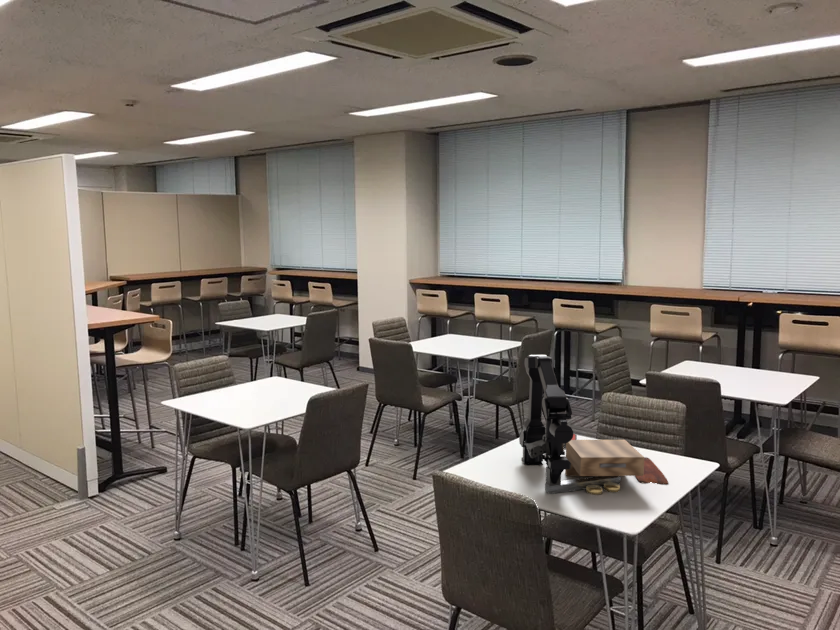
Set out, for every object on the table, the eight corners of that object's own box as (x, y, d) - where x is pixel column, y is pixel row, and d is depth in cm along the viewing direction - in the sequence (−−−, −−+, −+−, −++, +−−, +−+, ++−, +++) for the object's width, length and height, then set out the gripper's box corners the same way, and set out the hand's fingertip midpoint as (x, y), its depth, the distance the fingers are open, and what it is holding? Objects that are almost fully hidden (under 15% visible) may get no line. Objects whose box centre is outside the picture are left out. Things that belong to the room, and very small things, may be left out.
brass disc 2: (608, 493, 207) (608, 488, 207) (600, 487, 212) (601, 482, 212) (622, 492, 208) (622, 487, 208) (615, 486, 213) (615, 481, 213)
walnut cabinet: (580, 495, 205) (581, 458, 203) (565, 473, 224) (566, 439, 222) (643, 495, 206) (645, 458, 204) (623, 473, 224) (624, 439, 223)
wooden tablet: (670, 486, 214) (670, 481, 214) (638, 485, 216) (638, 480, 215) (651, 459, 241) (651, 454, 241) (623, 458, 242) (623, 453, 242)
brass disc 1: (589, 495, 205) (589, 491, 205) (583, 489, 210) (583, 485, 210) (604, 494, 206) (605, 490, 206) (598, 488, 211) (598, 484, 211)
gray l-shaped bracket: (549, 493, 206) (550, 469, 205) (545, 490, 209) (545, 466, 207) (620, 483, 214) (621, 460, 213) (614, 480, 217) (615, 457, 216)
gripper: (523, 425, 214) (522, 471, 216) (535, 442, 196) (533, 493, 198) (557, 425, 215) (555, 471, 217) (572, 442, 196) (570, 492, 198)
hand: (552, 481), depth 207 cm, fingers closed on gray l-shaped bracket, 3 cm apart
